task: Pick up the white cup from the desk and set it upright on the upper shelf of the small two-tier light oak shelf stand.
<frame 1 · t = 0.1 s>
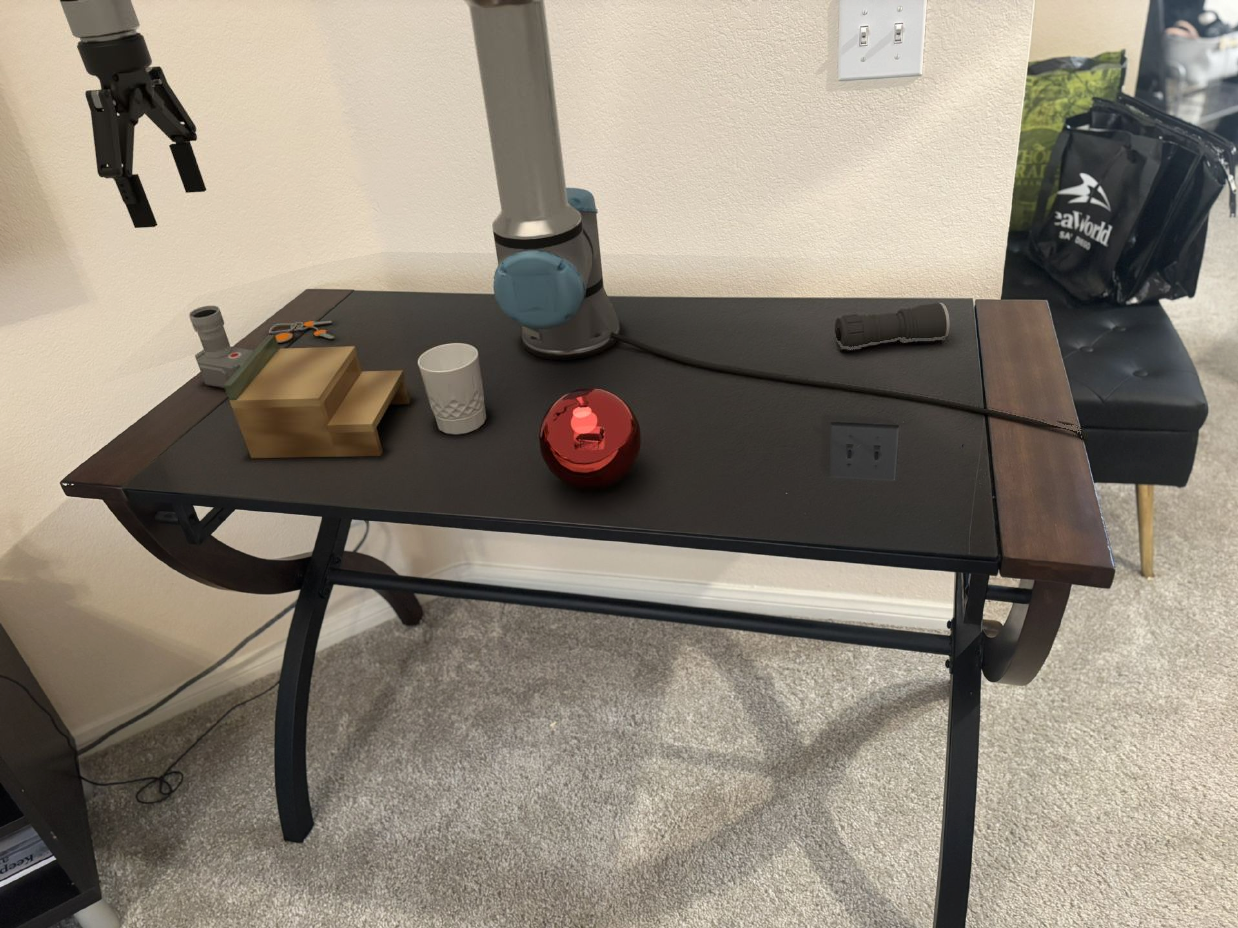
hand: (172, 208, 121), 28 cm above the table, tool pointing down, fingers open, 13 cm apart
white cup: (462, 423, 124), on the table
flashlight: (890, 345, 132), on the table
ball: (595, 481, 110), on the table
camera: (250, 385, 138), on the table
key chain: (304, 333, 152), on the table
shelf stand: (333, 428, 125), on the table
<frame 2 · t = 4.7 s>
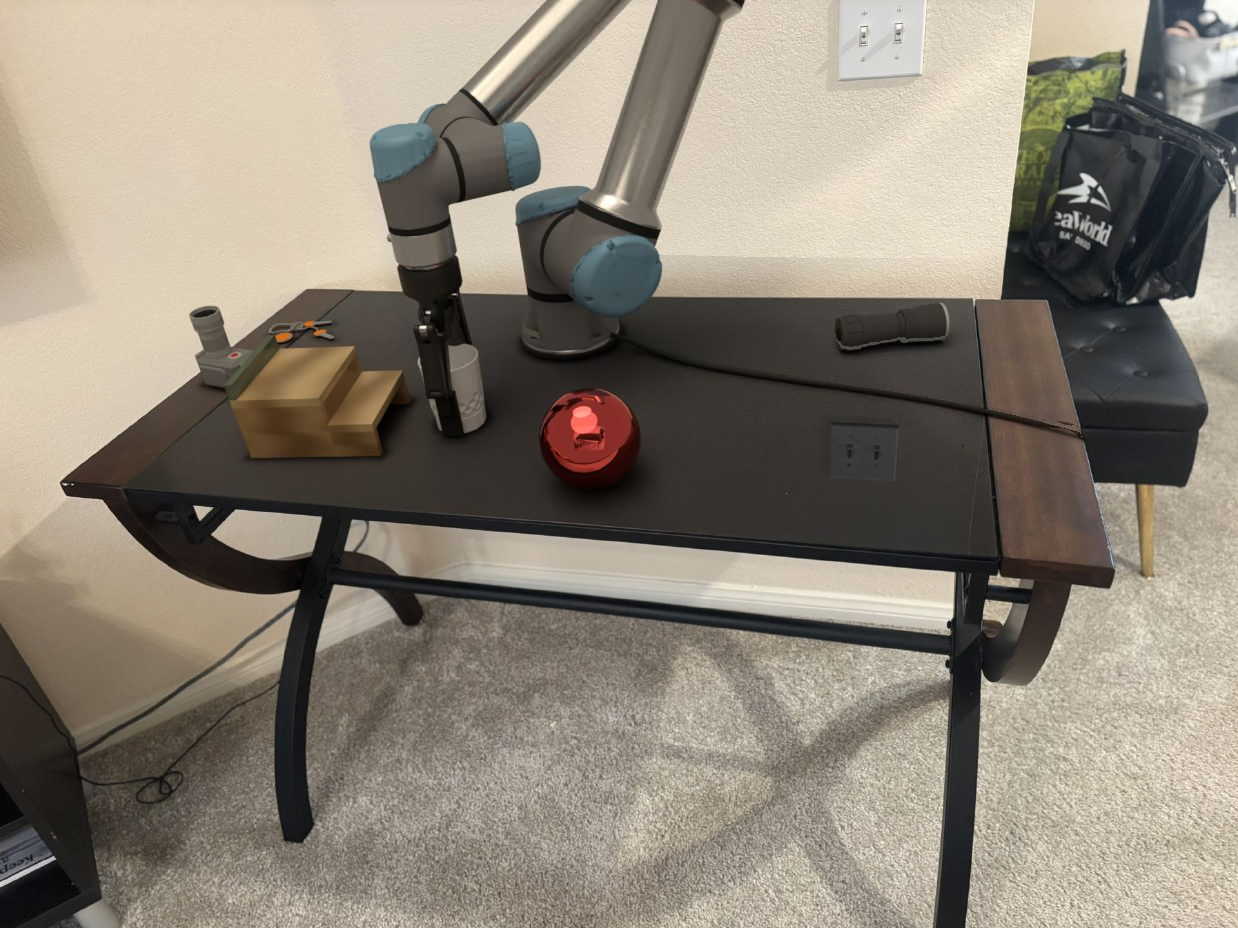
hand: (460, 417, 124), 1 cm above the table, tool pointing down, fingers closed on white cup, 8 cm apart
white cup: (462, 422, 124), on the table, touching gripper
everything else where it was.
when the fingers open (10 cm above the table, at t = 11.5 s): white cup stays where it is, resting on shelf stand.
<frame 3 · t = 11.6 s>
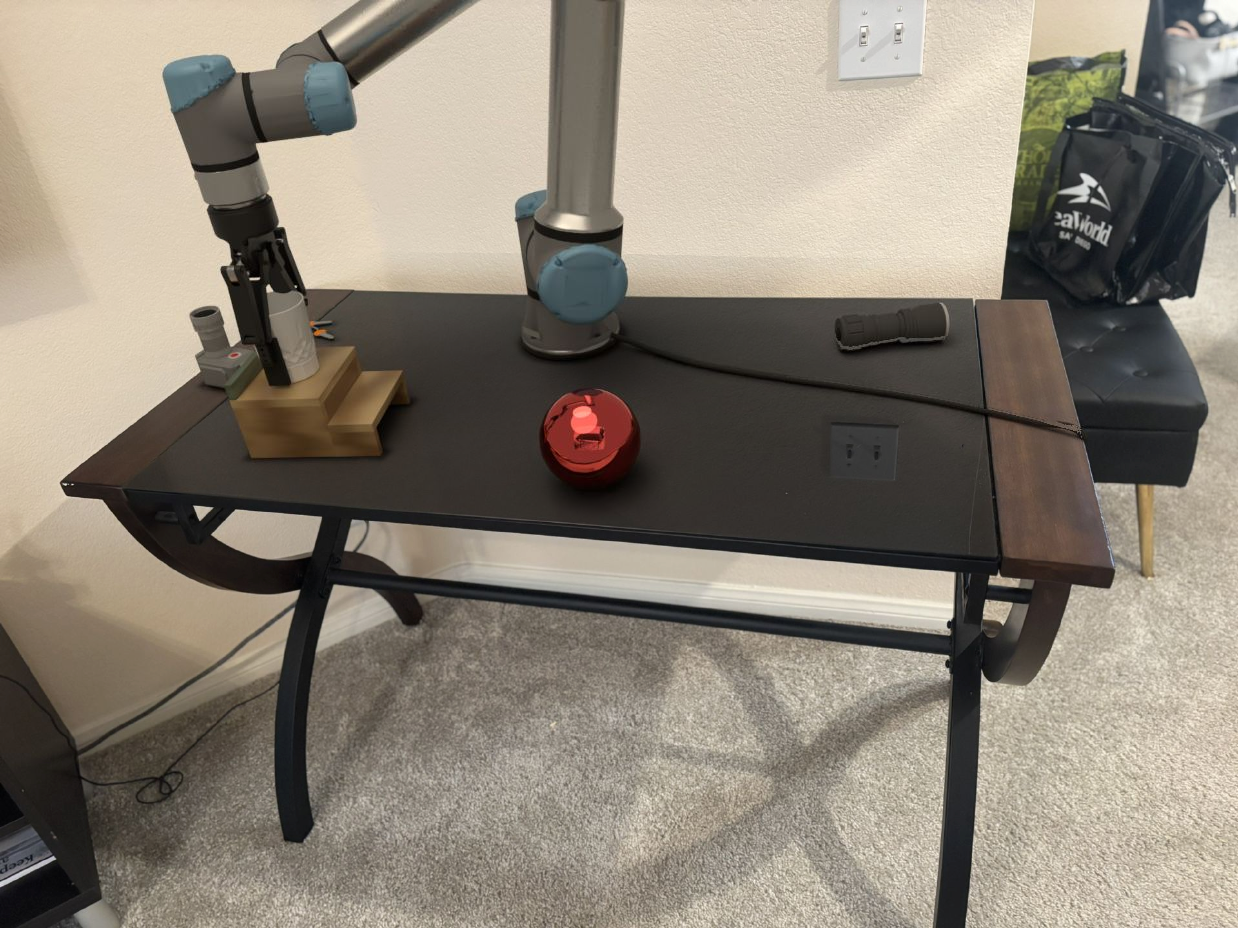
hand: (292, 368, 120), 10 cm above the table, tool pointing down, fingers open, 8 cm apart
white cup: (294, 373, 121), point 9 cm above the table, touching shelf stand
everything else where it was.
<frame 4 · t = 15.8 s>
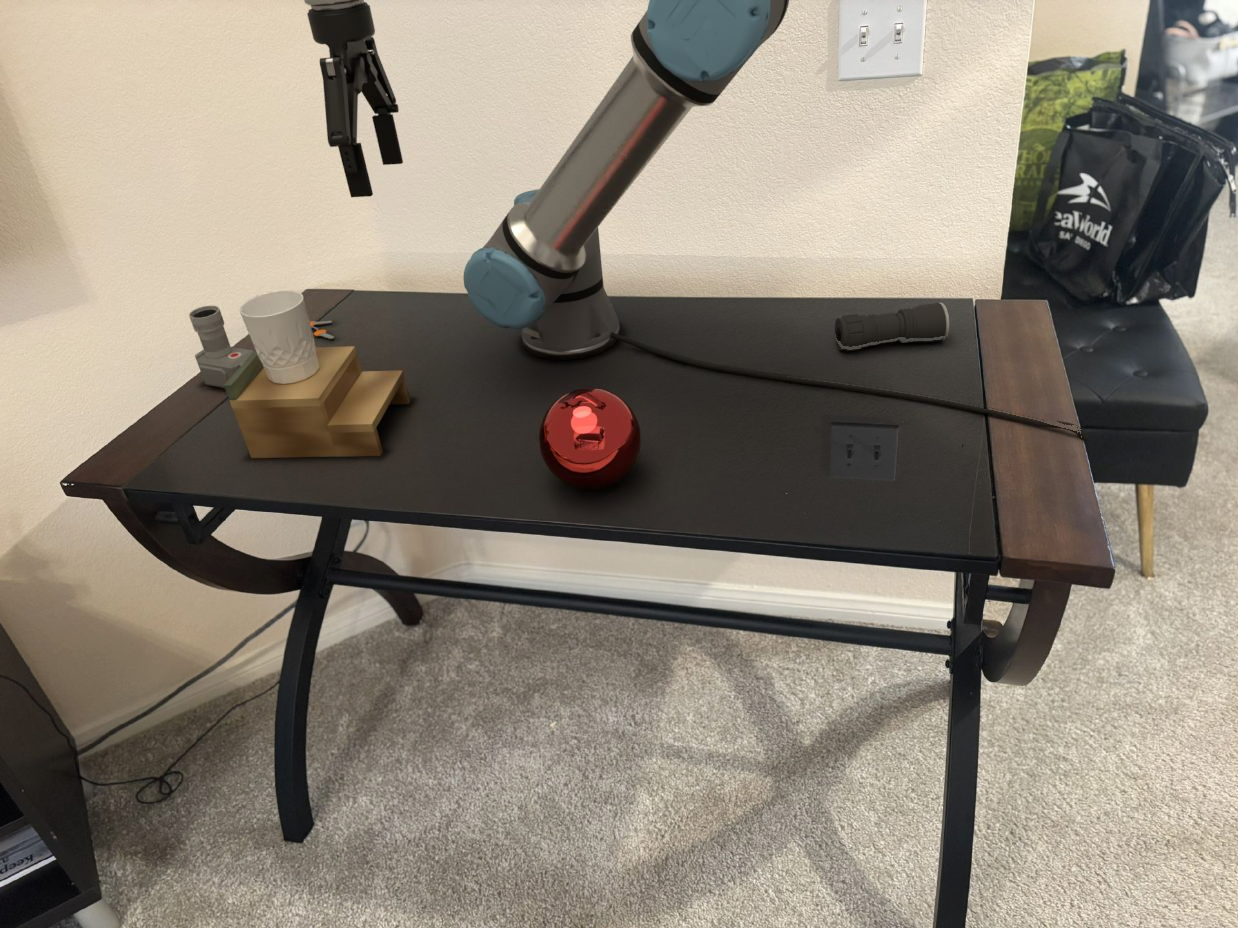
hand: (378, 179, 122), 29 cm above the table, tool pointing down, fingers open, 13 cm apart
nothing on the table moved.
at the end: white cup inside the target area on the shelf stand (0.5 cm from its centre), point 8.8 cm above the shelf stand's base; white cup tilted 0°; the gripper is holding nothing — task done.
